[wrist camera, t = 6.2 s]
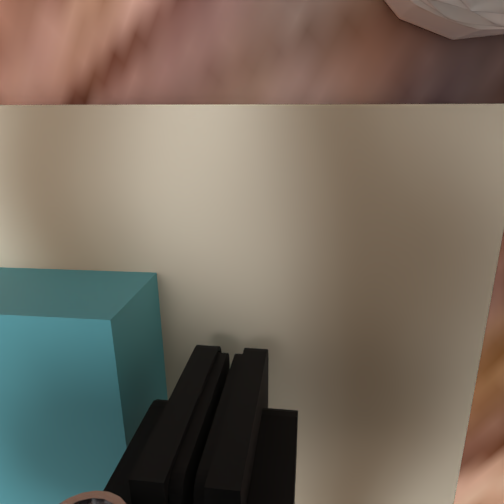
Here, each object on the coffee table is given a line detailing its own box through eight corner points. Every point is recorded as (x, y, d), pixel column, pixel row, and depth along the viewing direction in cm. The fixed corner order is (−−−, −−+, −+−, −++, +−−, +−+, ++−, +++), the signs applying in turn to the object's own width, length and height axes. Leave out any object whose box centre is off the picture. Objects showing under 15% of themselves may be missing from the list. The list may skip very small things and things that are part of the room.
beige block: (459, 106, 12) (526, 103, 8) (408, 479, 16) (437, 593, 12) (-118, 107, 14) (-272, 105, 11) (-37, 433, 18) (-128, 517, 15)
